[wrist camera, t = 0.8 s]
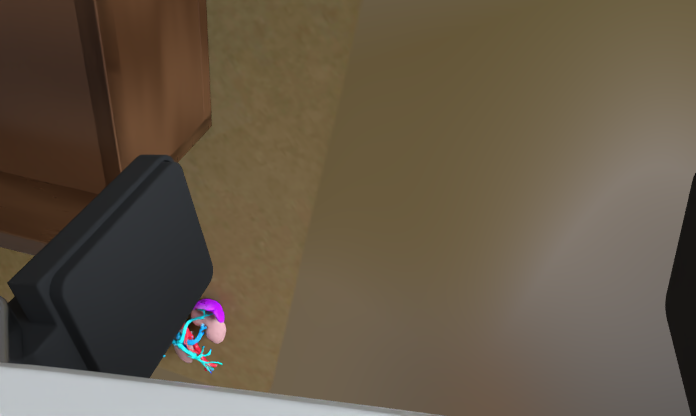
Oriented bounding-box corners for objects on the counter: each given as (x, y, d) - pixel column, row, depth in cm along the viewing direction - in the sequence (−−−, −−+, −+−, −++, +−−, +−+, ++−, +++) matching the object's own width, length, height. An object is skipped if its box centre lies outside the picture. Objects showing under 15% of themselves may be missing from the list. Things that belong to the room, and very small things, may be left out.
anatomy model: (237, 393, 46) (187, 338, 42) (157, 399, 49) (104, 349, 45) (258, 337, 49) (213, 282, 46) (182, 346, 53) (135, 296, 49)
